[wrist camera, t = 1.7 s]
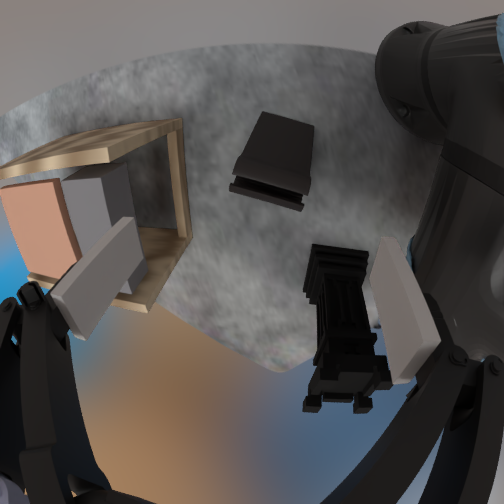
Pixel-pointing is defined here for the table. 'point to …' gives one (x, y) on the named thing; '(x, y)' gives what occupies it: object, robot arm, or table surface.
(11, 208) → the trapdoor
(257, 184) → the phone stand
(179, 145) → the frame
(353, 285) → the chess piece
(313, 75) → the table surface
